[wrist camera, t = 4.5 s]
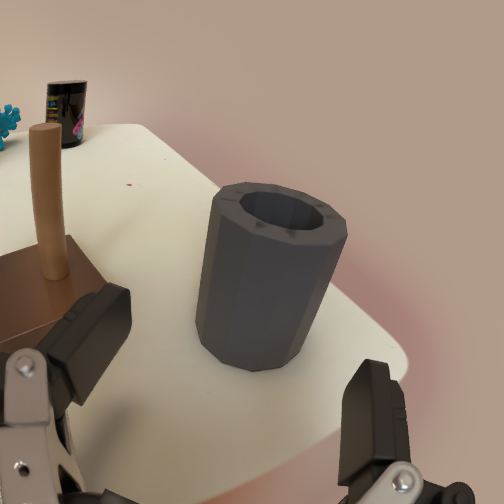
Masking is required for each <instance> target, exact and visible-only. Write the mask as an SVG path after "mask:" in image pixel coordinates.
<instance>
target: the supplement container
mask: <svg viewBox="0 0 504 504" xmlns="http://www.w3.org/2000/svg"><path fill="white" fill-rule="evenodd" d="M86 89H87V81H81V80H80V81H79V80H77V81H76V80H75V81H59V82H52V83H48V84H47V100H46V101H47V102H46V122H45V123H60V124H61V125H62V130H61V148H70V147H74V146H77V145H79V144H80V143H81V142H82V140H83V124H84V109H85V97H86V91H87V90H86Z"/></svg>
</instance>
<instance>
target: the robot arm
mask: <svg viewBox="0 0 504 504" xmlns="http://www.w3.org/2000/svg"><path fill="white" fill-rule="evenodd" d="M131 325H132V316H131V296H130V291H129V289H127V288H124V287H121V286H118V285H116V284H113V283H110V282H109V283H107V284H105V285H104V286H103V287H102V289H101V290H100V291H99V292H98V293H94V292H90V293H88V294H86V295H84V296H82V297H80V298H79V299H78V300H77V301H76V302H75V303H74V304H73V305H72V306H71V307H70V310H68V311H67V312H66V313H65V314H64V315H63V317H62V318H60V319H59V321H58V322H57V323H56V324H55V325H54V326H53V327H52V328H51V329H50V331H49V332H48V333H47V334H46V335H45V336H44V337H43V339H42V340H41V341H40V342H39V343H38V344H37V345H36V346H35V347H34V348H33V349H31V348H24V349H20V350H18V351H16V352H14V353H13V354H7V353H3V352H0V486H1V494H2V500H3V504H139V503H136V502H134V501H132V500H129V499H127V498H125V497H122V496H120V495H118V494H116V493H114V492H111V491H109V490H107V489H105V490H104V492H103V494H102V493H96V492H86V488H85V484H84V481H83V477H82V474H81V471H80V469H79V466H78V464H77V461H76V458H75V453H74V448H73V443H72V437H71V431H70V424H69V418H68V411H67V407H68V406H69V404H70V403H71V401H73V402H74V403H76V404H78V405H80V406H82V405H83V404H84V402H85V401H86V399H87V397H88V396H89V394H90V393H91V391H92V390H93V388H94V387H95V385H96V384H97V382H98V380H99V379H100V377H101V376H102V374H103V373H104V371H105V370H106V368H107V367H108V365H109V364H110V362H111V361H112V359H113V358H114V356H115V355H116V353H117V352H118V350H119V349H120V347H121V346H122V345H123V343H124V342H125V340H126V339H127V337H128V335H129V333H130V330H131ZM406 418H407V416H406V410H405V400H404V394H403V391H402V390H401V388H400V386H399V384H398V382H397V381H395V380H391V379H390V371H389V366H388V364H387V363H384V362H379V361H374V360H370V359H365V360H364V361H363V362H362V364H361V365H360V367H359V368H358V370H357V371H356V373H355V374H354V376H353V377H352V379H351V380H350V382H349V383H348V385H347V386H346V389H345V391H344V394H343V399H342V421H341V443H340V460H339V475H338V486H348V487H349V490H348V495H346V496H345V497H344V498H343V499H342V500H341V501H340V502H339V503H338V504H475V496H474V493H473V491H472V489H471V488H470V487H469V486H468V485H467V484H465V483H463V482H455V483H452V484H451V485H449V486H447V487H446V488H445V487H442V486H439V485H436V484H433V483H431V482H428V481H426V480H424V479H423V478H422V475H421V473H420V471H419V470H418V468H417V467H416V466H414V465H413V464H411V459H410V446H409V436H408V425H407V421H406Z"/></svg>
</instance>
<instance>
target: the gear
mask: <svg viewBox="0 0 504 504" xmlns="http://www.w3.org/2000/svg"><path fill="white" fill-rule="evenodd" d="M4 109H5V112H4V113H0V150H3V149H4V148H5V147H4V143H3V140H2V137H3V138H6V137H7V136H8V135H9V132H8V130H15V129H16V127H17V124H16V122H19V121H20V120H21V118H20V115H19V113H20V111H19V109H18V108H14V109H13V110H12V106H11V105H6V106H5V107H4ZM11 110H12V113H11V114H9V113H10V111H11ZM8 114H9V115H8ZM13 117H14V118H13ZM1 136H2V137H1Z"/></svg>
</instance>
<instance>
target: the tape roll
mask: <svg viewBox="0 0 504 504" xmlns="http://www.w3.org/2000/svg"><path fill="white" fill-rule="evenodd" d="M347 236H348V235H347V228H346V220H345V219H344V218H343V217H341V216H340V215H339V214H338V213H337V212H336V211H335V210H334V209H333V208H332V207H331V206H330V205H328V204H326V203H324V202H322V201H320V200H318V199H316V198H314V197H312V196H310V195H308V194H306V193H304V192H300V191H297V190H293V189H289V188H285V187H282V186H278V185H273V184H262V183H250V182H244V183H239V184H234V185H228V186H223V188H222V189H221V190H220V191H219V192H218V193H217V194H216V195H215V196H214V197H213V200H212V206H211V212H210V219H209V225H208V232H207V239H206V245H205V252H204V259H203V267H202V274H201V281H200V289H199V297H198V304H197V312H196V321H195V322H196V326H197V329H198V333H199V337H200V341H201V344H202V345H203V346H205V347H206V348H207V349H208V350H209V351H210V352H211V353H212V354H213V355H215V356H216V357H217V358H218V359H219V360H220V361H221V362H223V363H226V364H229V365H232V366H236V367H239V368H243V369H246V370H250V371H258V370H265V369H272V368H278V367H282V366H284V365H285V364H286V363H287V362H288V361H289V360H291V359H292V358H293V357H294V356H295V355H296V354H297V353H299V352H300V349H301V347H302V345H303V343H304V341H305V338H306V336H307V334H308V332H309V329H310V327H311V325H312V323H313V320H314V318H315V316H316V313H317V311H318V309H319V306H320V304H321V302H322V299H323V297H324V294H325V292H326V290H327V287H328V285H329V282H330V280H331V277H332V274H333V272H334V269H335V267H336V265H337V262H338V260H339V257H340V254H341V252H342V249H343V246H344V244H345V241H346V239H347Z"/></svg>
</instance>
